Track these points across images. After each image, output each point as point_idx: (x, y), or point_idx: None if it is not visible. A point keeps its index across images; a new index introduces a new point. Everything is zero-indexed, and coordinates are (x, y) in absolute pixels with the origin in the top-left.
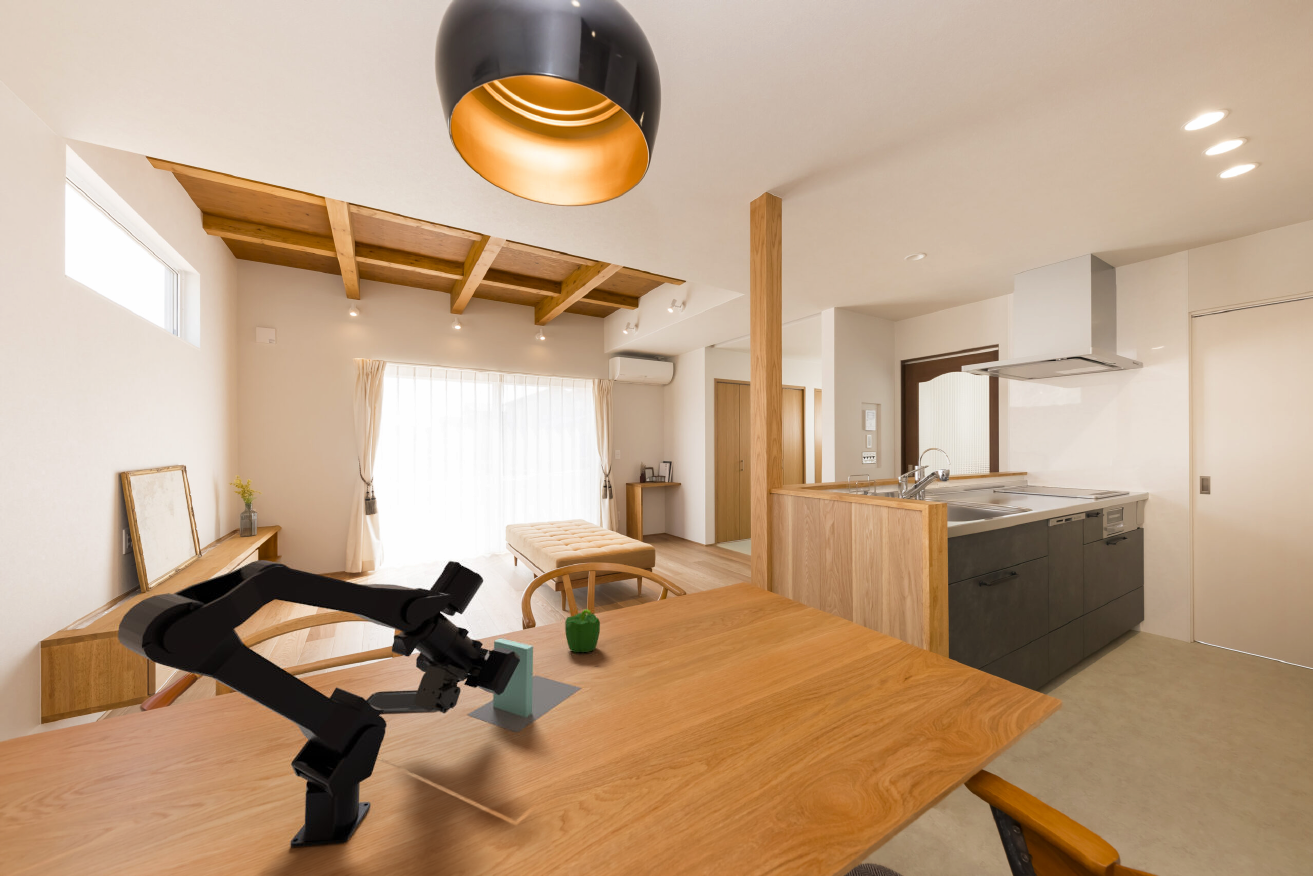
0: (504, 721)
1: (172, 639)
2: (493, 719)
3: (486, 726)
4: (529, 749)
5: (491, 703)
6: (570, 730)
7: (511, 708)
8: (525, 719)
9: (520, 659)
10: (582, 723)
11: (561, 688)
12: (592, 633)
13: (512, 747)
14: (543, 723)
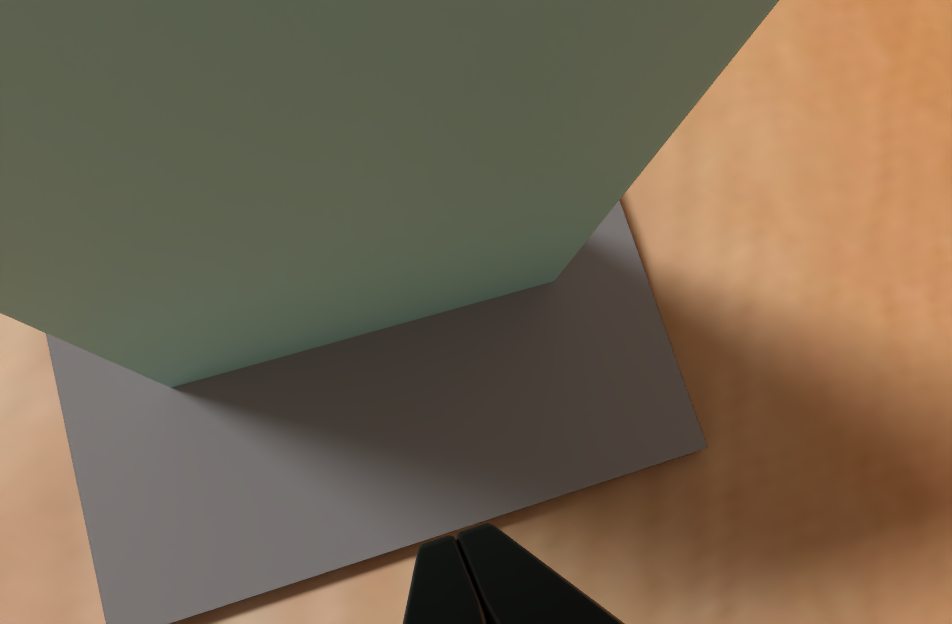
0: (481, 438)
1: None
2: (383, 493)
3: (404, 572)
4: (923, 478)
5: (98, 368)
6: (886, 142)
7: (395, 316)
8: (579, 299)
9: (628, 31)
10: (860, 36)
11: None
12: None
13: (825, 560)
14: (682, 218)
